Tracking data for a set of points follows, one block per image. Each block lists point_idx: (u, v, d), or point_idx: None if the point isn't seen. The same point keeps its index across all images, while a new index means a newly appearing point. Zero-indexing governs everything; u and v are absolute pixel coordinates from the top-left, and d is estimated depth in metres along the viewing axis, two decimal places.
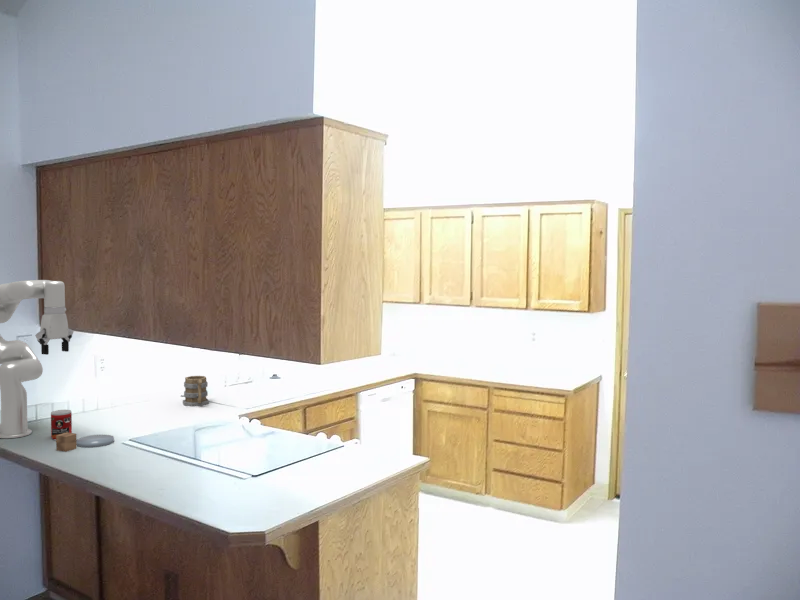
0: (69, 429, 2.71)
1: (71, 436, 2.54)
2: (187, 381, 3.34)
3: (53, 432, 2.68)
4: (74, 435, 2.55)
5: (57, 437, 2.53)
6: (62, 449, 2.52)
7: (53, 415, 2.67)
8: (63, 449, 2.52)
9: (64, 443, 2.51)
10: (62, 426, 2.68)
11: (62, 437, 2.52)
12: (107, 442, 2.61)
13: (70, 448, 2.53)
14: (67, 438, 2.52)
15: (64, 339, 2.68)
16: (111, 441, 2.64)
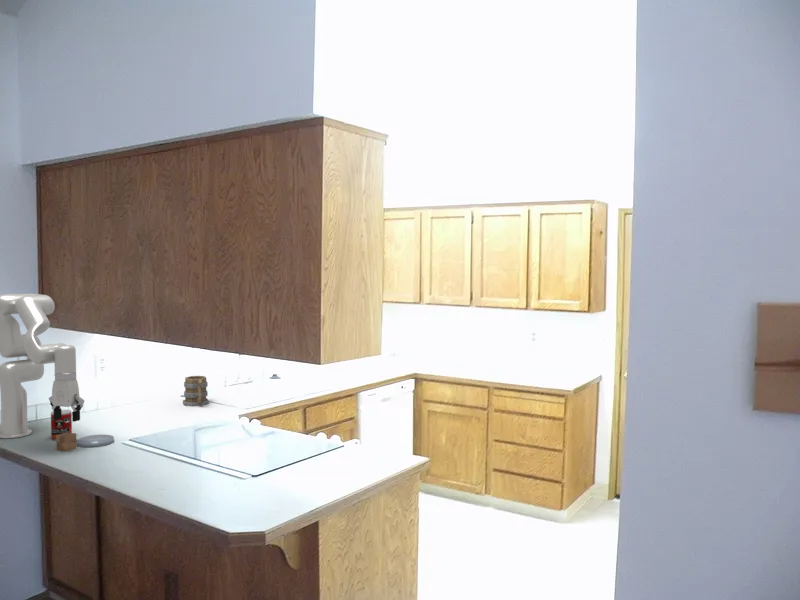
0: (69, 429, 2.71)
1: (71, 436, 2.54)
2: (187, 381, 3.34)
3: (53, 432, 2.68)
4: (74, 435, 2.55)
5: (57, 437, 2.53)
6: (62, 449, 2.52)
7: (53, 415, 2.67)
8: (63, 449, 2.52)
9: (64, 443, 2.52)
10: (62, 426, 2.68)
11: (62, 437, 2.52)
12: (107, 442, 2.61)
13: (70, 448, 2.53)
14: (67, 438, 2.52)
15: None
16: (111, 441, 2.64)
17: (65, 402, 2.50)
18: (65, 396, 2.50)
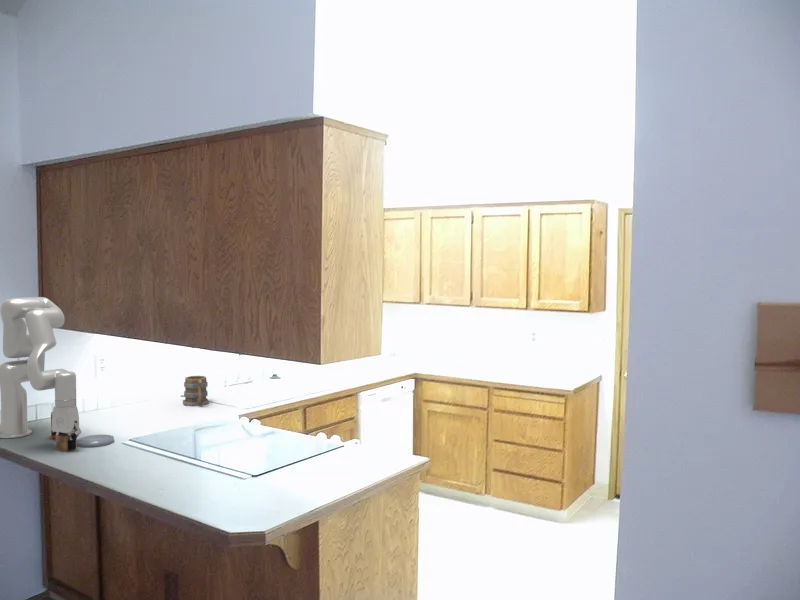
0: None
1: None
2: (187, 381, 3.34)
3: (53, 432, 2.68)
4: None
5: (57, 437, 2.53)
6: (62, 449, 2.52)
7: None
8: (63, 449, 2.52)
9: (64, 443, 2.51)
10: None
11: (62, 437, 2.52)
12: (107, 442, 2.61)
13: None
14: (67, 438, 2.52)
15: None
16: (111, 441, 2.64)
17: (65, 429, 2.51)
18: (65, 423, 2.50)
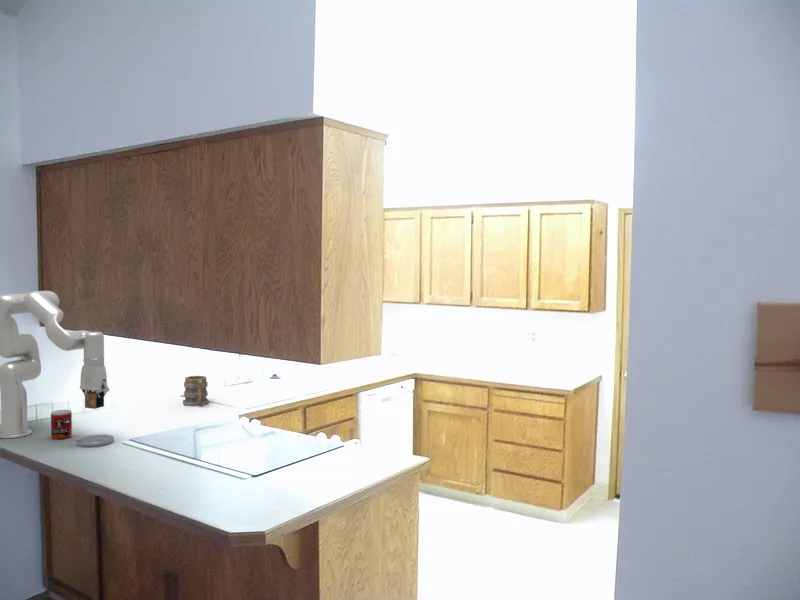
0: (69, 429, 2.71)
1: None
2: (187, 381, 3.34)
3: (53, 432, 2.68)
4: None
5: (86, 395, 2.61)
6: (90, 406, 2.61)
7: (53, 415, 2.67)
8: (91, 406, 2.61)
9: (92, 400, 2.60)
10: (62, 426, 2.68)
11: (91, 394, 2.60)
12: (107, 442, 2.61)
13: None
14: (95, 395, 2.61)
15: None
16: (111, 441, 2.64)
17: (93, 386, 2.59)
18: (93, 381, 2.59)
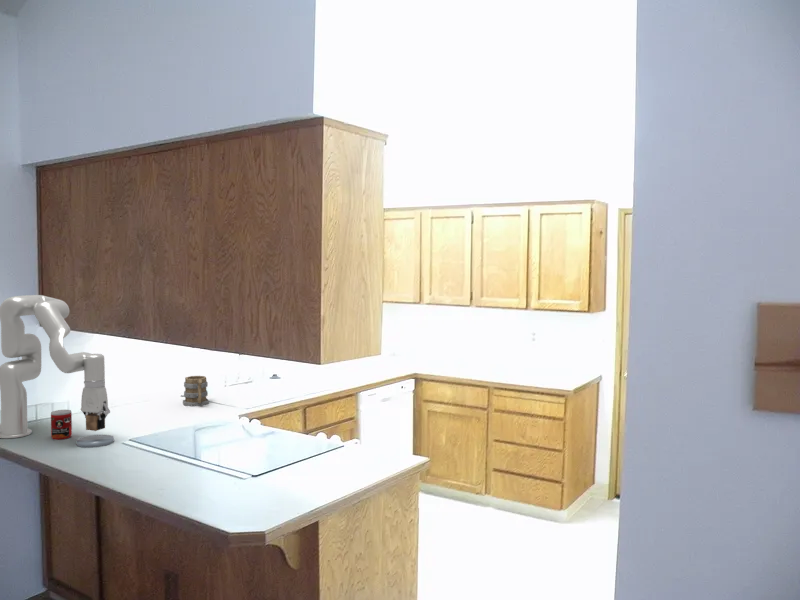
0: (69, 429, 2.71)
1: None
2: (187, 381, 3.34)
3: (53, 432, 2.68)
4: None
5: (87, 417, 2.62)
6: (92, 428, 2.61)
7: (53, 415, 2.67)
8: (93, 428, 2.61)
9: (94, 422, 2.61)
10: (62, 426, 2.68)
11: (92, 417, 2.61)
12: (107, 442, 2.61)
13: None
14: (96, 418, 2.61)
15: None
16: (111, 441, 2.64)
17: (94, 409, 2.60)
18: (94, 403, 2.60)
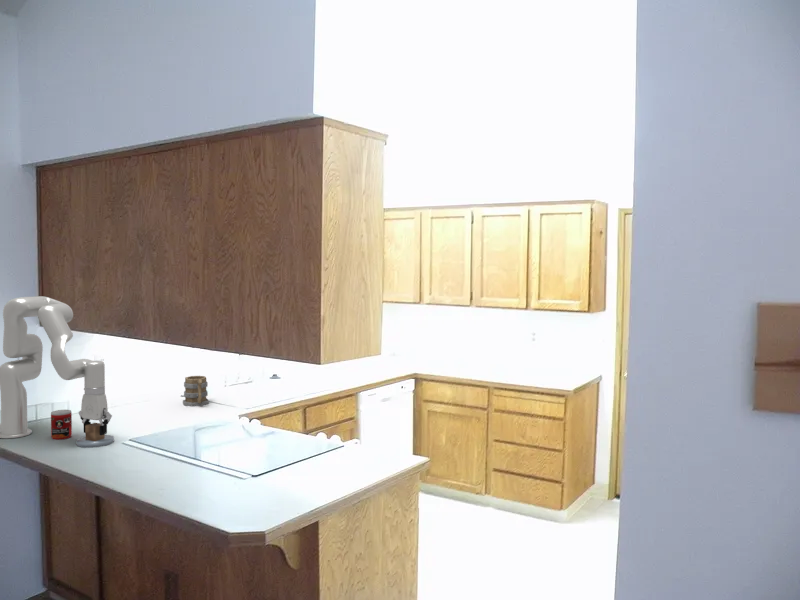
0: (69, 429, 2.71)
1: None
2: (187, 381, 3.34)
3: (53, 432, 2.68)
4: None
5: (86, 427, 2.62)
6: (91, 438, 2.62)
7: (53, 415, 2.67)
8: (92, 438, 2.61)
9: (93, 433, 2.61)
10: (62, 426, 2.68)
11: (91, 427, 2.61)
12: (107, 442, 2.61)
13: (99, 438, 2.63)
14: (96, 428, 2.62)
15: (85, 420, 2.65)
16: (111, 441, 2.64)
17: (94, 416, 2.60)
18: (94, 410, 2.60)
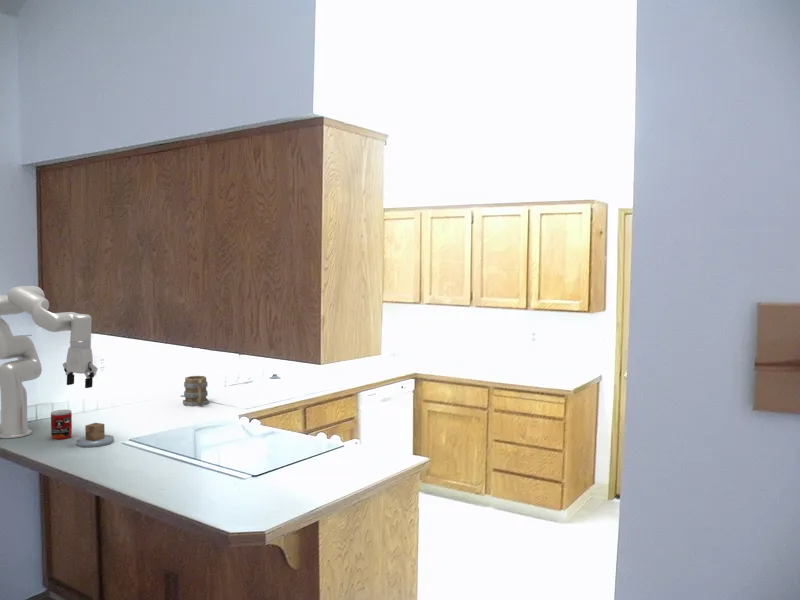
0: (69, 429, 2.71)
1: (100, 426, 2.63)
2: (187, 381, 3.34)
3: (53, 432, 2.68)
4: (102, 425, 2.65)
5: (86, 427, 2.62)
6: (91, 438, 2.62)
7: (53, 415, 2.67)
8: (92, 438, 2.61)
9: (93, 433, 2.61)
10: (62, 426, 2.68)
11: (91, 427, 2.61)
12: (107, 442, 2.61)
13: (99, 438, 2.63)
14: (96, 428, 2.62)
15: None
16: (111, 441, 2.64)
17: (79, 369, 2.59)
18: (79, 363, 2.59)
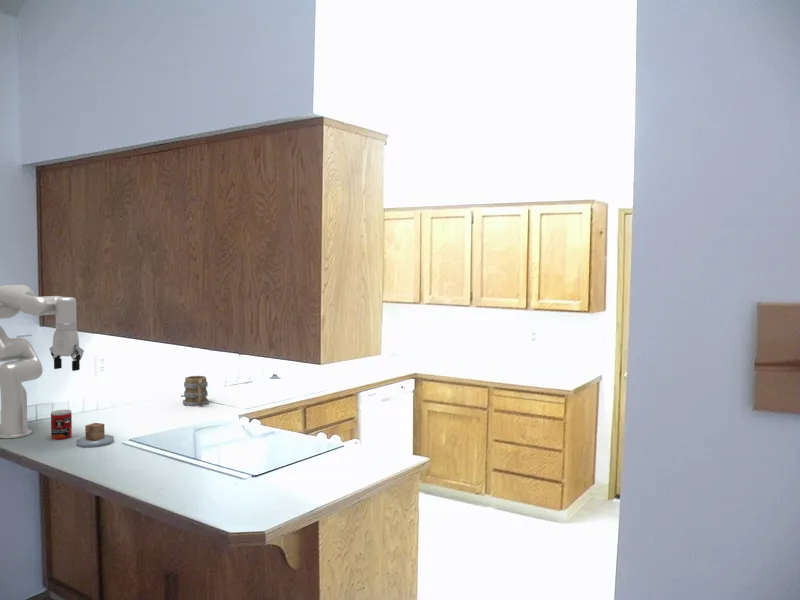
0: (69, 429, 2.71)
1: (100, 426, 2.63)
2: (187, 381, 3.34)
3: (53, 432, 2.68)
4: (102, 425, 2.65)
5: (86, 427, 2.62)
6: (91, 438, 2.62)
7: (53, 415, 2.67)
8: (92, 438, 2.61)
9: (93, 433, 2.61)
10: (62, 426, 2.68)
11: (91, 427, 2.61)
12: (107, 442, 2.61)
13: (99, 438, 2.63)
14: (96, 428, 2.62)
15: None
16: (111, 441, 2.64)
17: (65, 352, 2.58)
18: (65, 346, 2.58)
